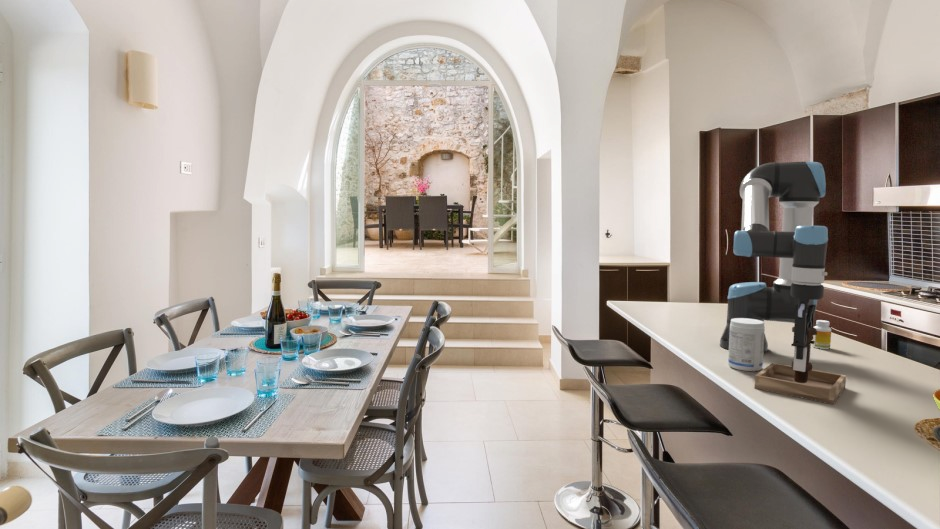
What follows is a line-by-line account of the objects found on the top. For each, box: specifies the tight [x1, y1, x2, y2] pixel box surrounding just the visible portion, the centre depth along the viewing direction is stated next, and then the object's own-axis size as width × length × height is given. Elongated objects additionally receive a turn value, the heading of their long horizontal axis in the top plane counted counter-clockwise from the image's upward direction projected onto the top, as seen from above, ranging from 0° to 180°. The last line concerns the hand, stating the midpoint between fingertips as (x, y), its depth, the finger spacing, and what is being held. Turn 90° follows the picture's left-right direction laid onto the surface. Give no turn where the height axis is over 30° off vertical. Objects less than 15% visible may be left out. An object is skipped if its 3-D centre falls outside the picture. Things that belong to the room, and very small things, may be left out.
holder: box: [753, 362, 847, 405], centre depth 147 cm, size 18×18×4 cm
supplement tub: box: [727, 318, 765, 372], centre depth 166 cm, size 10×10×15 cm
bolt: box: [790, 326, 817, 383], centre depth 146 cm, size 6×5×15 cm
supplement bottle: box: [811, 319, 832, 350], centre depth 193 cm, size 5×5×10 cm
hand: (801, 368), depth 147 cm, fingers closed on bolt, 4 cm apart
